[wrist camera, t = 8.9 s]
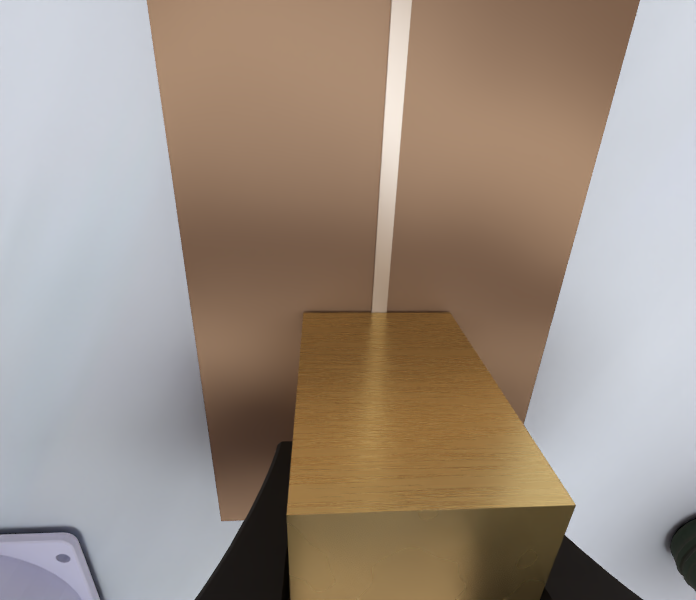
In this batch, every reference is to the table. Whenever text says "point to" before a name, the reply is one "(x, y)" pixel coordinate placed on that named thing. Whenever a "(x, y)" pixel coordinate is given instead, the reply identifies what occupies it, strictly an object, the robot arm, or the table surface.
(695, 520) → the stick grenade
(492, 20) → the board
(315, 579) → the upright wooden block
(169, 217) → the table surface
